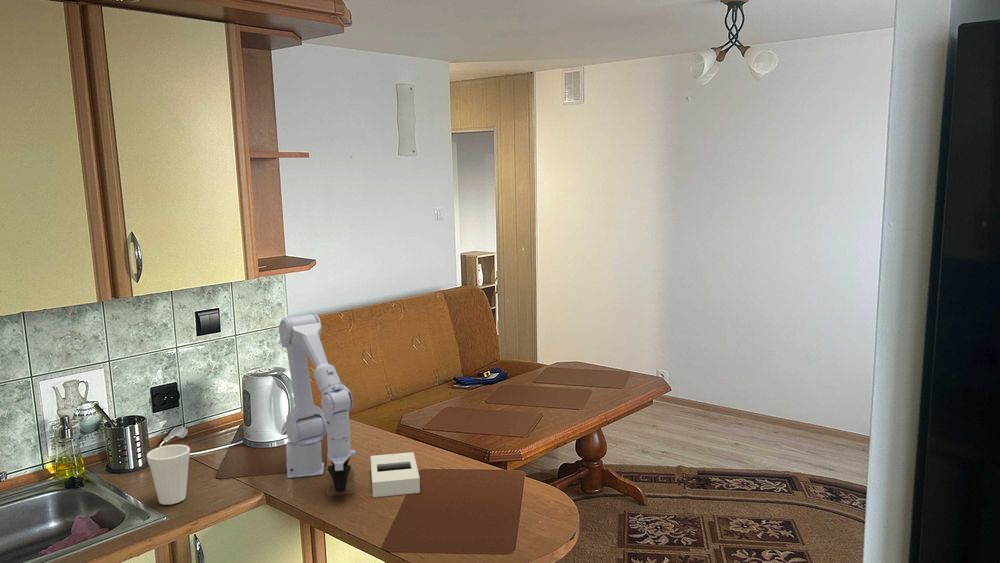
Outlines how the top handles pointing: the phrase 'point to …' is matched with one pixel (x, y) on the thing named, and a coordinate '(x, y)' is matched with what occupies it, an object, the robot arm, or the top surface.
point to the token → (349, 484)
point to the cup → (170, 472)
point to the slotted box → (394, 475)
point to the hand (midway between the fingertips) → (340, 486)
